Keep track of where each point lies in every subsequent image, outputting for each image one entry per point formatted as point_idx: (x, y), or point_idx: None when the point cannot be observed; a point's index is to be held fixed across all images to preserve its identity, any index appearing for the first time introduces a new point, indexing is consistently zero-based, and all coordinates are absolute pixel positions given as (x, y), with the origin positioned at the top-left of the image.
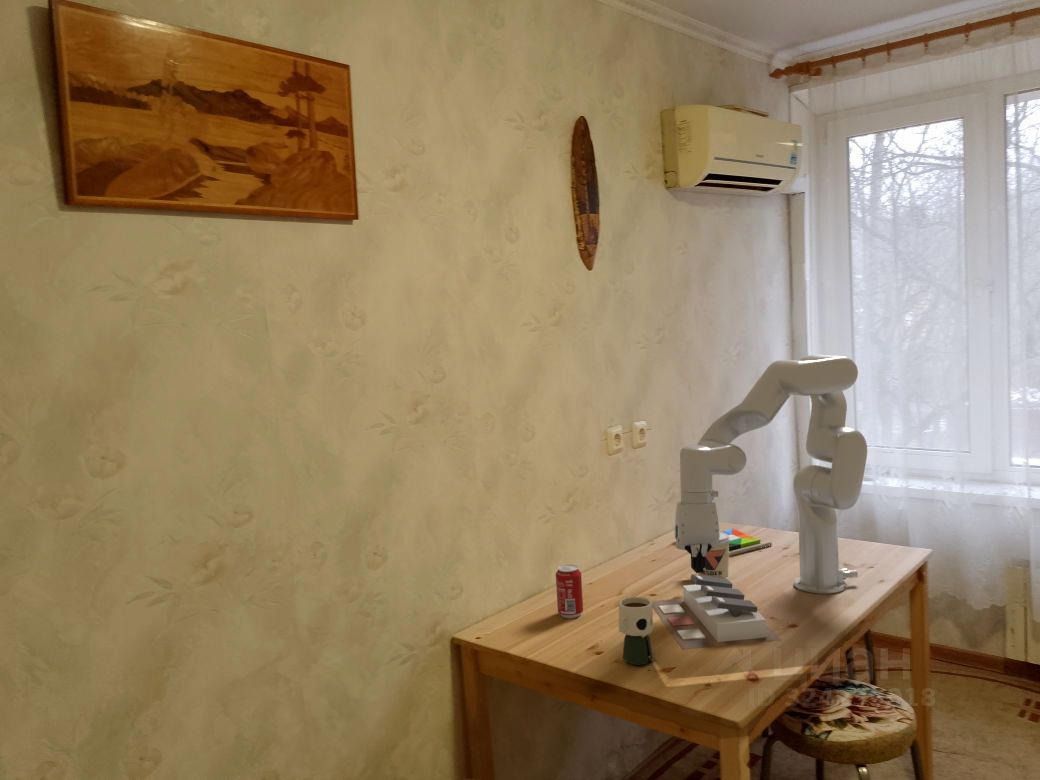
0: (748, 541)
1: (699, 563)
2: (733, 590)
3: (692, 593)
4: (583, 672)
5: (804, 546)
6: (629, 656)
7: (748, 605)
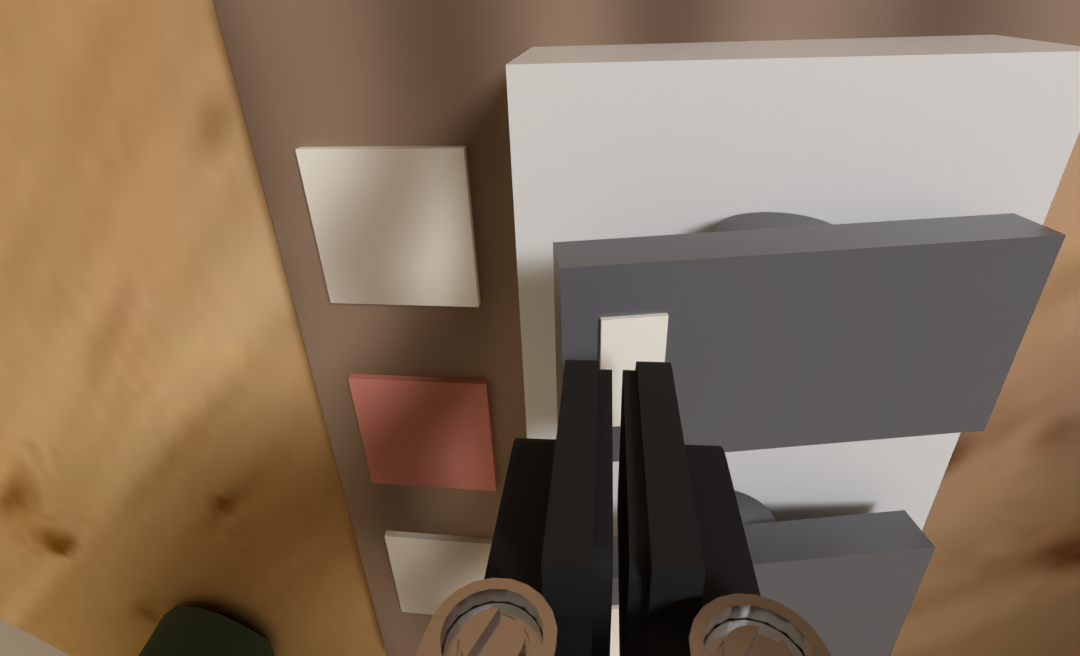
0: None
1: (620, 590)
2: (854, 595)
3: (541, 327)
4: (49, 641)
5: None
6: None
7: None
